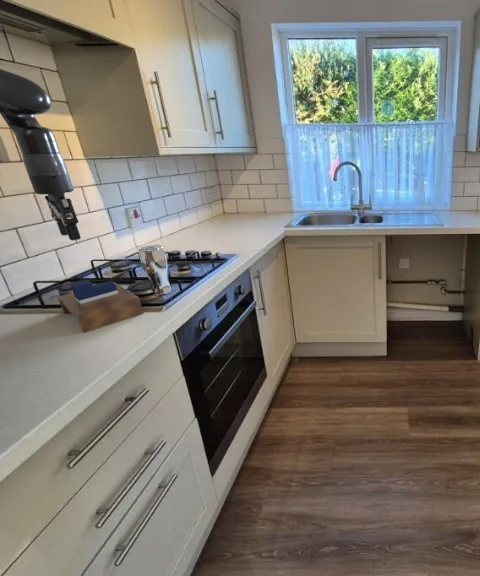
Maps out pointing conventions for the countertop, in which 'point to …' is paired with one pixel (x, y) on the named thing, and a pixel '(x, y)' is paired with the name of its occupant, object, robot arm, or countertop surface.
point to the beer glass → (156, 268)
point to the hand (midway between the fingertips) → (71, 237)
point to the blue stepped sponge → (92, 290)
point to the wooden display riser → (102, 309)
